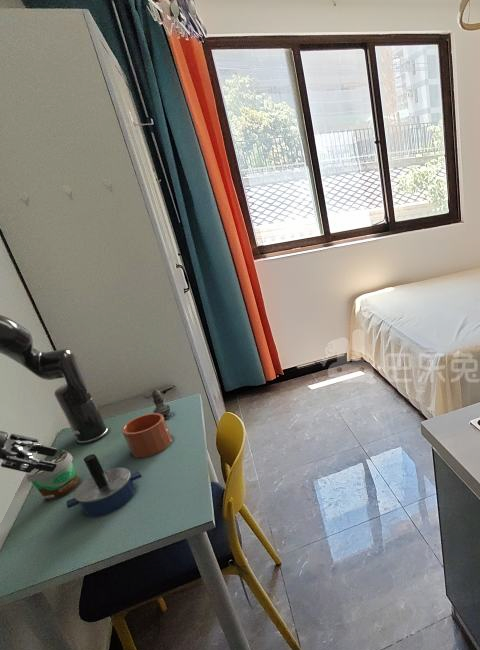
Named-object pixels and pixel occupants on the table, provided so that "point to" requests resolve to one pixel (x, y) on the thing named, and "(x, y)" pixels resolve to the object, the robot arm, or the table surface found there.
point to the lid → (100, 481)
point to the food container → (56, 478)
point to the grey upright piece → (161, 405)
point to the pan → (109, 499)
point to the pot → (147, 435)
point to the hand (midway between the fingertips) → (55, 460)
